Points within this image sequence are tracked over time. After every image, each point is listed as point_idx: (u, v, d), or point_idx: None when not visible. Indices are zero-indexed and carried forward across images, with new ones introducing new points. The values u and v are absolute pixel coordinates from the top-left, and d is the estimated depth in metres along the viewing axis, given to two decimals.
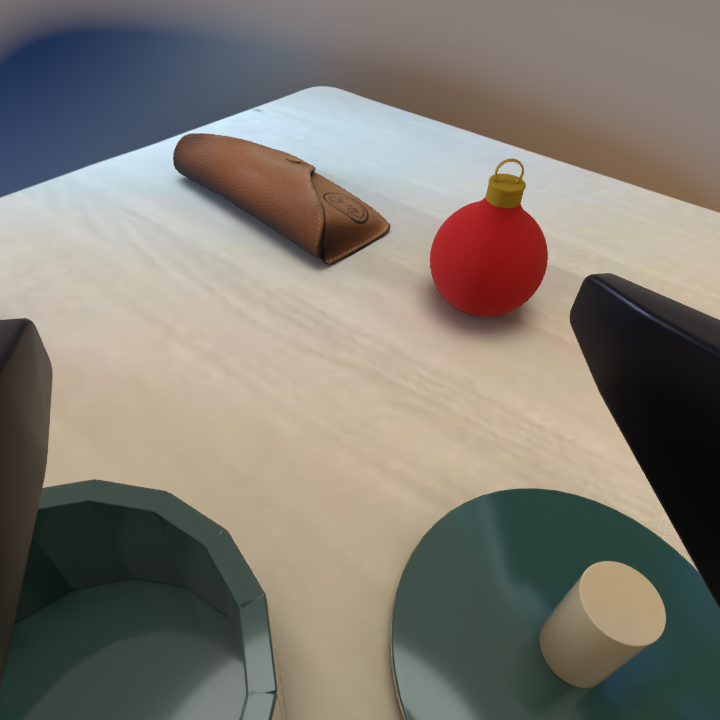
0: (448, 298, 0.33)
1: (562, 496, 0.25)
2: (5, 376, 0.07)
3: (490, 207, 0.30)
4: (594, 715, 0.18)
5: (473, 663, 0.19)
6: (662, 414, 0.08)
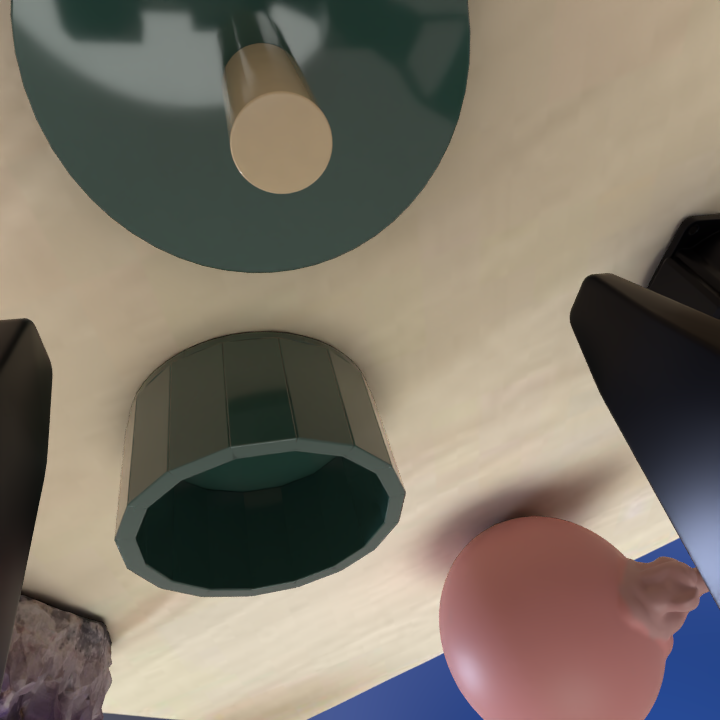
0: None
1: None
2: (5, 376, 0.07)
3: None
4: (328, 103, 0.18)
5: (258, 205, 0.19)
6: (662, 413, 0.08)
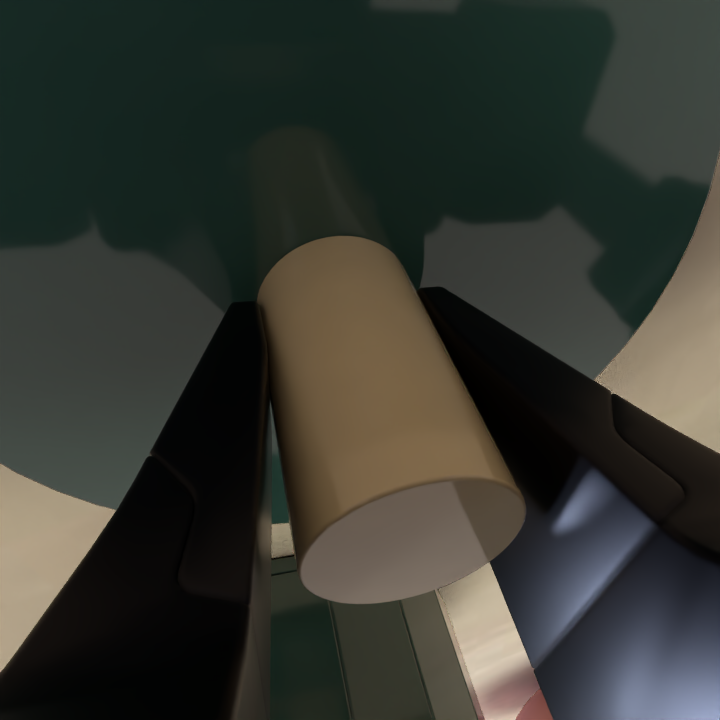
0: None
1: None
2: (266, 350, 0.07)
3: None
4: None
5: None
6: None
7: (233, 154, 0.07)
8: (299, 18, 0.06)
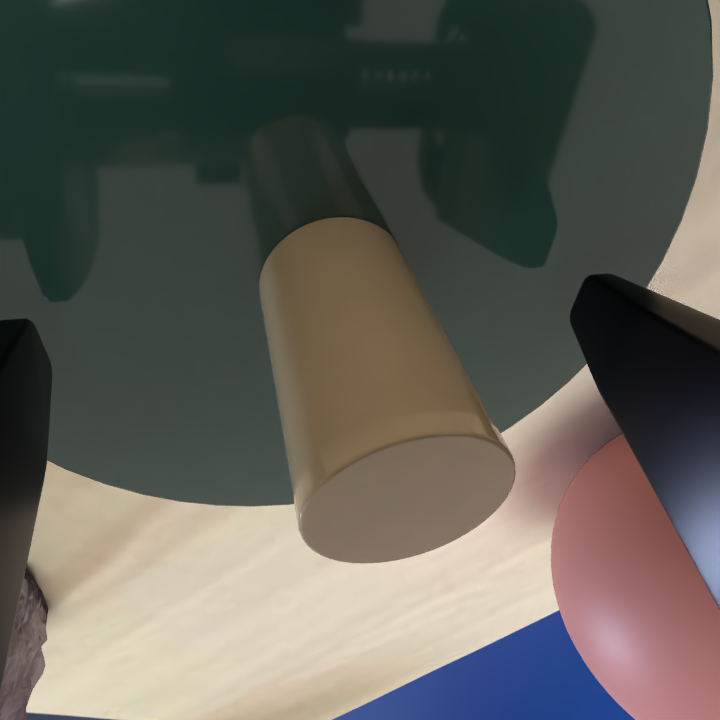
0: None
1: None
2: (5, 376, 0.07)
3: None
4: (441, 293, 0.10)
5: None
6: (662, 414, 0.08)
7: (237, 136, 0.07)
8: (300, 5, 0.06)
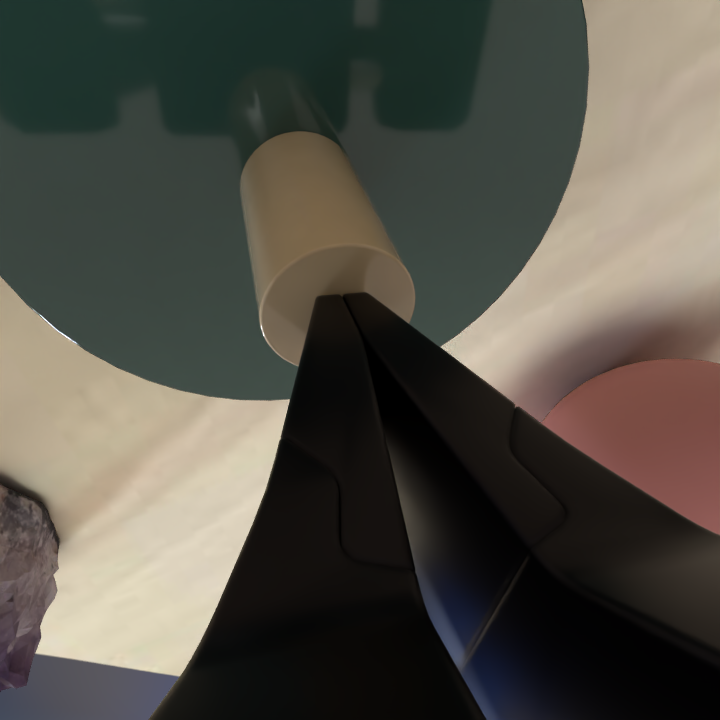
0: None
1: None
2: None
3: None
4: (386, 203, 0.13)
5: None
6: None
7: (220, 61, 0.10)
8: None
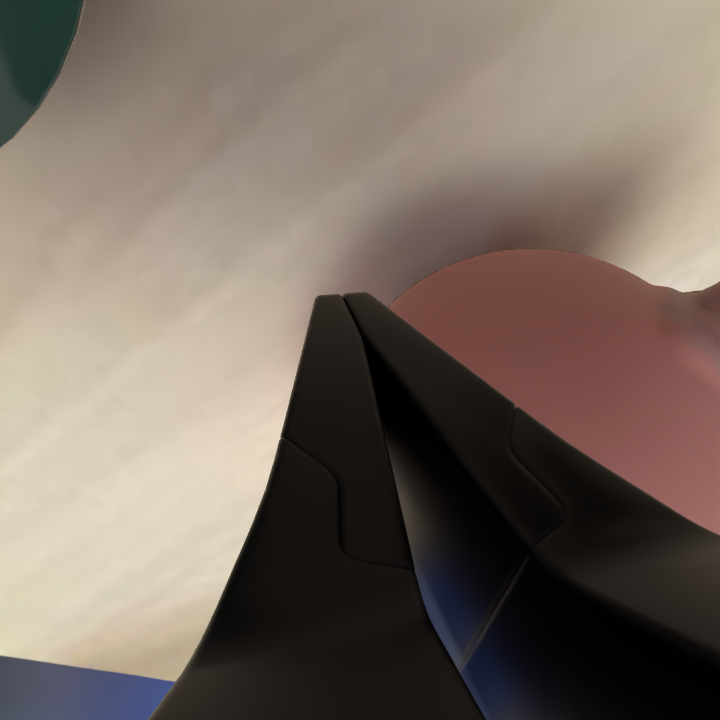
0: None
1: None
2: None
3: None
4: None
5: None
6: None
7: None
8: None
